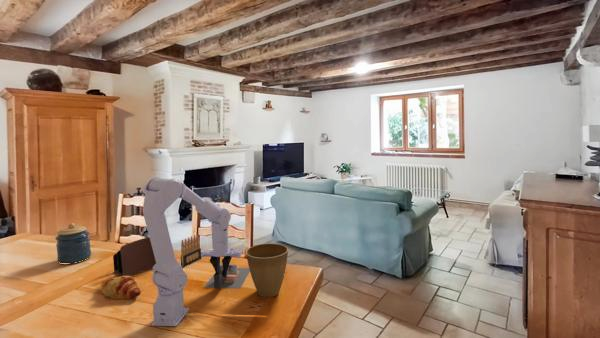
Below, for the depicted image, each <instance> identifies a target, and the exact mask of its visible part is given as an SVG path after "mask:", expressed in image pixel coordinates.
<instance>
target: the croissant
mask: <svg viewBox="0 0 600 338" xmlns="http://www.w3.org/2000/svg"><path fill="white" fill-rule="evenodd" d="M100 287H101V293H102V294H103V295H104V298H110V299H112V300H121V299H125V300H130V299H135V298H137V297H139V296H140V295H141V292H142V290H140V287H139V286H138V283H137V282H136V281H135V278H134V277H132V275H131V276H122V277H121V276H119V277H111V278H107V279H105V280H103V281H102V283H101V284H100Z"/></svg>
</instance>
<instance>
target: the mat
mask: <svg viewBox="0 0 600 338" xmlns="http://www.w3.org/2000/svg"><path fill="white" fill-rule="evenodd" d="M237 271H239V276H238V277H237V279H236V280H235V282H234V283H225V282H224V283H223V285H222V286H221V288H220V289H238V290H239V289H241V288H242V286H243V284H244V282H245V281H246V279H247V277H248V276H249V273H250V269H249V267H237ZM215 273H216V272H214V274H215ZM214 274H213V275H212V276H211V278H210V279H209V280H208V281H207V282H206V284H205V285H204V286H203V289H204V288H205V289H215V288H214Z"/></svg>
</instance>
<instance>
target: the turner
mask: <svg viewBox="0 0 600 338" xmlns="http://www.w3.org/2000/svg"><path fill="white" fill-rule="evenodd" d="M237 268H238V264H236V263H235V264H234V263H233V264H232V263H229V267H228V271H227V275H226V277H224V275H223V264H222V263H220V268H219V269H218V270H217V271H216V273H215V272H214V273H213V275H214V288H213V289H222V288H221V286H222V285H223V283H224V282H225V280H226V279H227V276H228V275H237Z"/></svg>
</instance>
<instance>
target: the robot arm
mask: <svg viewBox="0 0 600 338" xmlns="http://www.w3.org/2000/svg"><path fill="white" fill-rule="evenodd" d="M143 191H144V200H143V203H142V204H143V205H142V214H143V219H144V222H145V225H146V229H147V234H148V237H150V241H151V245H152V249H153V252H154V256H155V260H156V264H155V265H154V266H153V269H152V270H153V271H152V282H153V284H154V286H155V285H156V287H157V288H156V289H157V298H156V300H155V301H154V302H153V305H152V306H153V307H152V310H153V311H152V312H153V322H152V323H151V326H153V327H155V326H156V327H158V326H159V327H161V326H162V327H177V326H178V325H179V324H180V322H182V320H183V319H184V317H185V316H186V315H187V314H188V312H189V310H190V307H185V299H184V290H185V287H186V285H187V283H188V274H187V273H186V272H185V271H184V269H183V267H182V266H181V263H180V262H179V261H178V260H177V258H176V256H175V252H174V248H173V243H172V240H171V236H170V231H169V228H168V223H167V220H166V215H165V212H166V210H167V209H168V208H170V207H171V205H173V204H174V203H175V202H176V201H177V200H178V199H182V200H183V201H185V202H187V203H189V204H191V205H192V206H194V207H195V211H196V212H197V213H198V214H200V215H201V216H203V217H205V218H206V219H207V221H208V222H209V223H211V239H212V249H208V250H206V249H205V250H201V257H202V258H207V257H208V258H209V263H210V264H211V265H212V267H213V269H214V271H215V272H216V271H217V270H218V269H219V268H220V264H223V275H224V277H226V275H227V271H228V267H229V264H231V261H232V258H237V259H239V258H241V256H242V251H241V250H235V249H234V250H233V249H230V248H229V226H230V221H231V219H232V218H231V217H232V214H230V211H229V210H228V209H227V208H224V207H221V205H220V204H218V203H216V202H214V201H212V200H213V199H212V197H204V196H203V197H201V196H199V195H198V194H197V193H195V192H194V191H193V190H191V189H190V188H189V187H188V186H186V184H185V183H184V182H181V181H180V180H179V179H175V178H162V177H152V178H150V179H149V180H148V182H147V183H146V185H145V186H144V187H143ZM221 258H222V259H221ZM215 272H214V273H215Z"/></svg>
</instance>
